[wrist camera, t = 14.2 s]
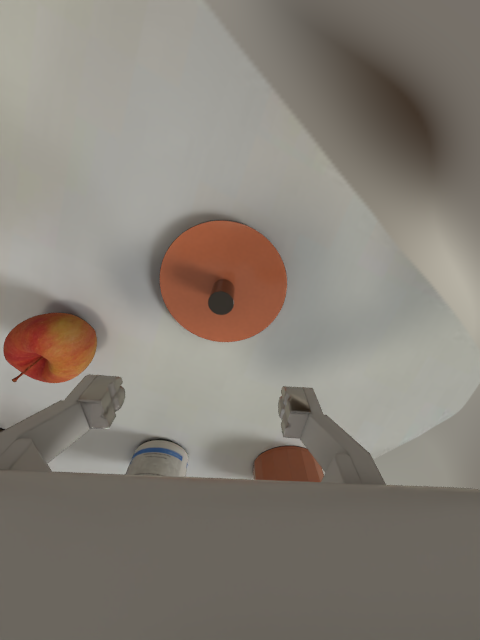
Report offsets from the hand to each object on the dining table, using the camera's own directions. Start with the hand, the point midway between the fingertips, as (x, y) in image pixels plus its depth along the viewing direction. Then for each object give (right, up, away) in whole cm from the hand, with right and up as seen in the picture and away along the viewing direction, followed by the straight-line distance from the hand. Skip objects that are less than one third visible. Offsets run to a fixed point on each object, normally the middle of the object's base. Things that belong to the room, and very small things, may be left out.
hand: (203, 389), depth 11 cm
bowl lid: (0, +7, +12) cm, 14 cm away
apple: (-18, +3, +16) cm, 24 cm away
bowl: (+11, -24, +30) cm, 40 cm away
